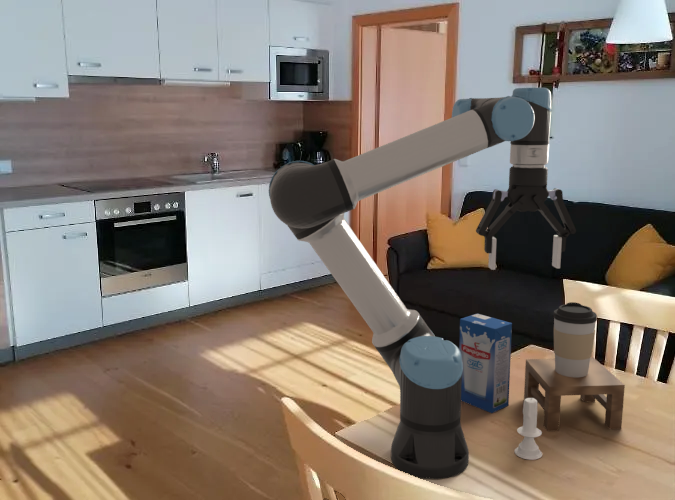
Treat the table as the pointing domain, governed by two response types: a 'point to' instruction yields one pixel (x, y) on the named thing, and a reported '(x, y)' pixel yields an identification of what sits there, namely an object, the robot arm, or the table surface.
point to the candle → (529, 432)
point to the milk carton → (485, 361)
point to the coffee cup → (573, 339)
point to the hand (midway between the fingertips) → (523, 267)
